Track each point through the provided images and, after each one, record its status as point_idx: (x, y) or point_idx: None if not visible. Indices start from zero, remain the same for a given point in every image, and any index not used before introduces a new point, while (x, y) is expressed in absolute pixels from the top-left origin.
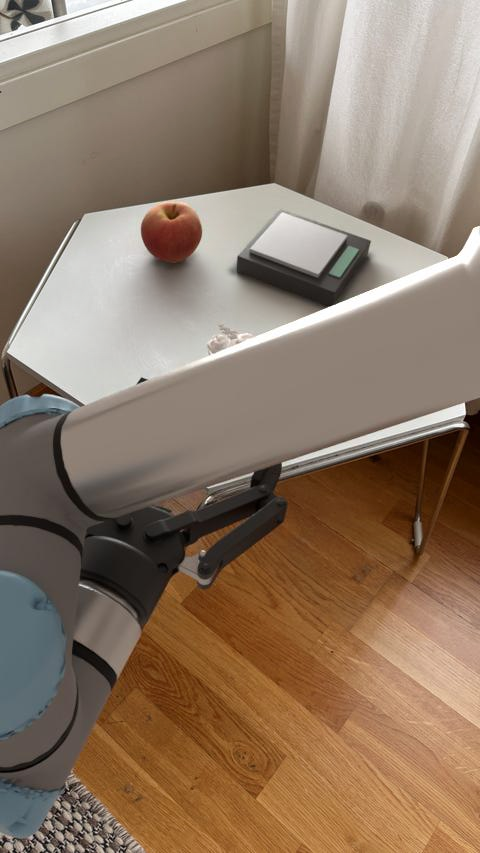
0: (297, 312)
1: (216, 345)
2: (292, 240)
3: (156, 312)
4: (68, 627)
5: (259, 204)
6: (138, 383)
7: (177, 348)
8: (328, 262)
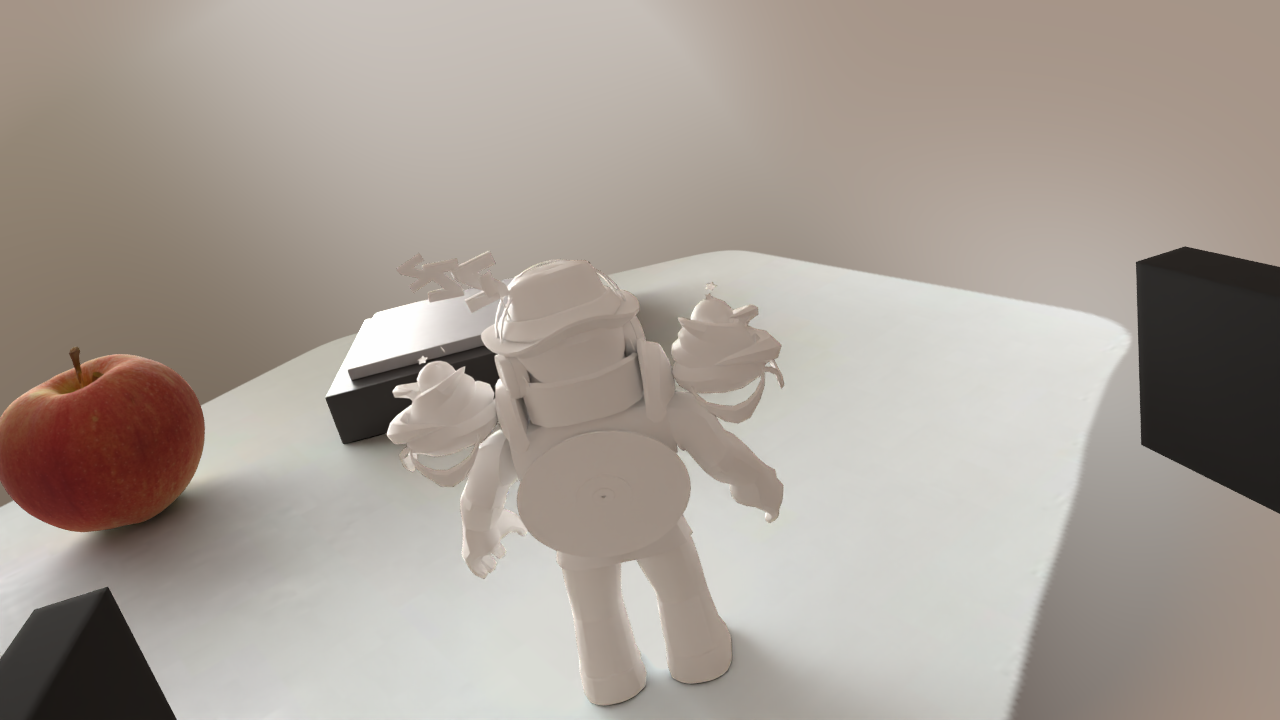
0: None
1: (433, 403)
2: (436, 320)
3: (147, 633)
4: None
5: (316, 361)
6: (17, 652)
7: (279, 667)
8: None
